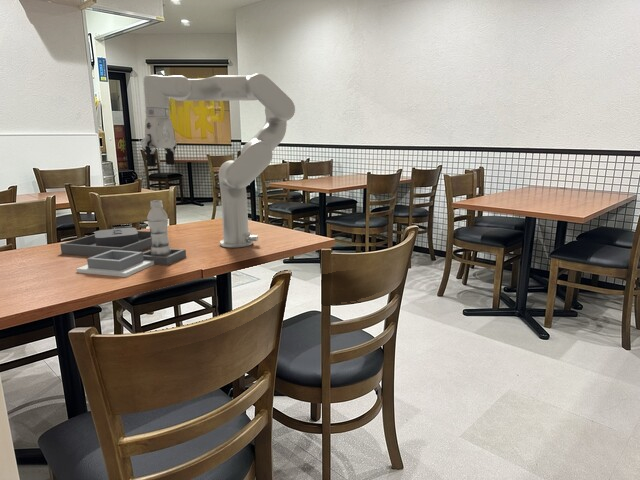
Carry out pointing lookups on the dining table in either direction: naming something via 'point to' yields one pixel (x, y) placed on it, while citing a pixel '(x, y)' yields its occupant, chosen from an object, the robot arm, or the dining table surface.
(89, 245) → the dark grey organizer tray
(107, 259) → the board
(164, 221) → the plastic bottle
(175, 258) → the tray
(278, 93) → the robot arm
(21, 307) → the dining table surface
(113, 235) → the streaming box
